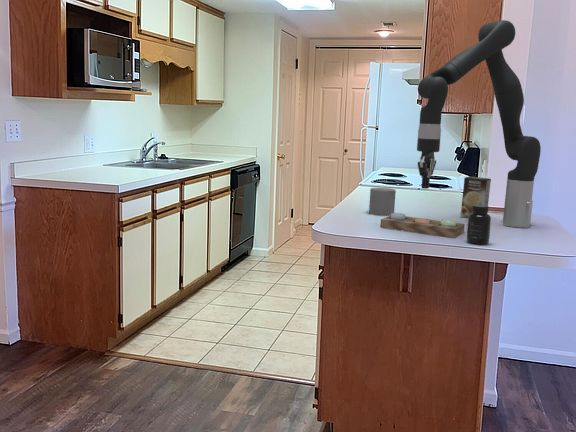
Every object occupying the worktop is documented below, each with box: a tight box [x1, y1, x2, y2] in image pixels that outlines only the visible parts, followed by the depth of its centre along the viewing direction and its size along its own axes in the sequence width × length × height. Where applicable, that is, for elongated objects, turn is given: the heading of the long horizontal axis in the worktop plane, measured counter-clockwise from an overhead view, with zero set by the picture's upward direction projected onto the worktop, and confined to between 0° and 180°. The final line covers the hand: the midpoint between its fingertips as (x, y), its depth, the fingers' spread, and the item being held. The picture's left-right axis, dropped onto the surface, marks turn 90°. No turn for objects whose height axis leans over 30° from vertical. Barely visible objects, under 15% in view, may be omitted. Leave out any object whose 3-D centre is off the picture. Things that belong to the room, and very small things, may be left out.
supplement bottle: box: [466, 205, 492, 246], centre depth 183 cm, size 7×7×12 cm
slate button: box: [391, 212, 406, 220], centre depth 205 cm, size 5×5×3 cm
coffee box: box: [460, 175, 492, 219], centre depth 229 cm, size 9×6×16 cm
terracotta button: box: [415, 218, 431, 224], centre depth 201 cm, size 5×5×3 cm
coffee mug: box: [368, 186, 397, 217], centre depth 233 cm, size 13×10×10 cm
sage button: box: [440, 218, 457, 227], centre depth 196 cm, size 5×5×3 cm
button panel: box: [379, 215, 466, 239], centre depth 201 cm, size 26×12×3 cm, turn 58°
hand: (425, 188), depth 199 cm, fingers closed
